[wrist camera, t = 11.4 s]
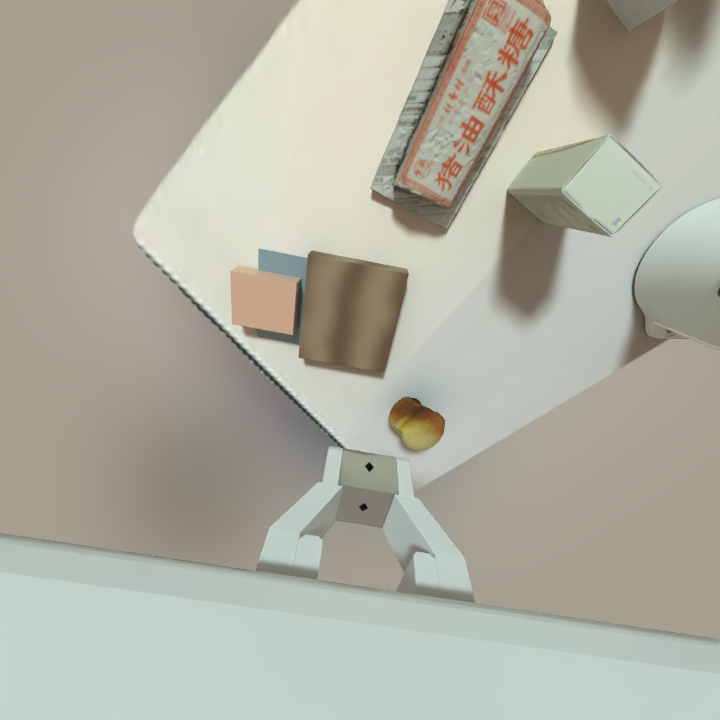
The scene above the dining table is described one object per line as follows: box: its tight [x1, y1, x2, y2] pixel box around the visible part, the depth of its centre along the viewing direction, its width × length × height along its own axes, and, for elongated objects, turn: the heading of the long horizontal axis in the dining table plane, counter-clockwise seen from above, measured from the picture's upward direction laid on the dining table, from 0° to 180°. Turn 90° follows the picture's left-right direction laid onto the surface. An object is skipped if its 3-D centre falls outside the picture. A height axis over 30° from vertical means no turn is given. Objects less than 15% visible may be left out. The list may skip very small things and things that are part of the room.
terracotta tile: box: [231, 266, 301, 335], centre depth 39 cm, size 8×7×2 cm
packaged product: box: [371, 0, 557, 229], centre depth 29 cm, size 18×5×10 cm
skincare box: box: [507, 135, 662, 237], centre depth 28 cm, size 6×4×12 cm
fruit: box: [389, 397, 445, 450], centre depth 45 cm, size 8×8×8 cm
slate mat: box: [258, 249, 308, 344], centre depth 41 cm, size 8×12×1 cm, turn 170°
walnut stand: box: [299, 251, 408, 373], centre depth 40 cm, size 12×14×2 cm
